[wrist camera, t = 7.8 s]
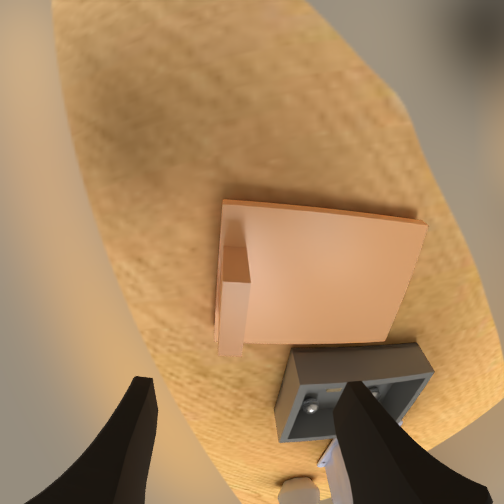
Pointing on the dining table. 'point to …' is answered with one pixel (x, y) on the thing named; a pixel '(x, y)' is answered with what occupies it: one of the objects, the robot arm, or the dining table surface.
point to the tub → (335, 379)
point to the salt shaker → (299, 492)
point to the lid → (310, 274)
